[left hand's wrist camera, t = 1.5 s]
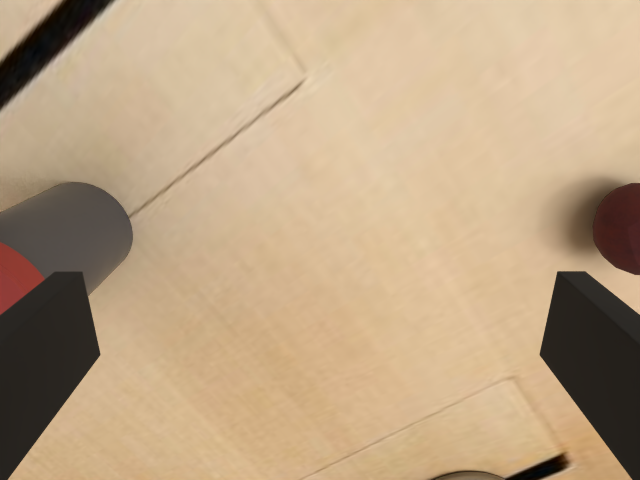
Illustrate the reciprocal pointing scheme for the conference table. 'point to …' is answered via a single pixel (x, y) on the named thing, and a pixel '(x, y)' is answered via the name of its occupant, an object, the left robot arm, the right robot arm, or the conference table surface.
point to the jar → (69, 231)
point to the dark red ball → (620, 228)
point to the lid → (15, 277)
